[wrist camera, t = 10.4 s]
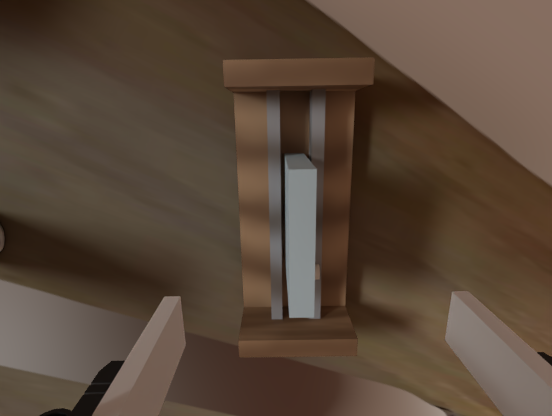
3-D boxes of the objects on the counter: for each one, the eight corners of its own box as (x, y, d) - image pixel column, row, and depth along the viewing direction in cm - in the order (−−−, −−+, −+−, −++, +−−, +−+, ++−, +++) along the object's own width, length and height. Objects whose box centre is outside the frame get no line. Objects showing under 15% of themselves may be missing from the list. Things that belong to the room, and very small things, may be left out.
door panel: (284, 153, 33) (288, 169, 23) (313, 153, 33) (330, 168, 23) (285, 260, 36) (289, 317, 26) (311, 259, 36) (326, 317, 26)
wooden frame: (235, 73, 33) (222, 60, 25) (351, 71, 33) (374, 57, 25) (246, 312, 41) (239, 357, 33) (341, 310, 41) (356, 355, 33)
